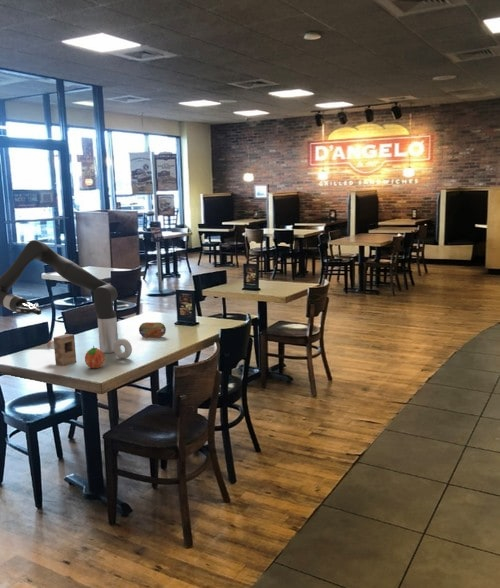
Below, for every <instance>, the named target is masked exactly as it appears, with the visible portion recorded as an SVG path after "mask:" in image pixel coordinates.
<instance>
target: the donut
mask: <svg viewBox="0 0 500 588" xmlns="http://www.w3.org/2000/svg"><path fill="white" fill-rule="evenodd" d="M121 346H122V347H123V348H124V351H123V350H122V348H121ZM113 349H114V352H113V353H114V354H115V356H116V357H118V358H119V359H122V360H125V359H126V360H127V358H129V357H131V355H132V353H133V347H132V344H131V342H130V341H129V340H127V339H126V338H122V337H120V338H118V340H116V341H115V343H114V345H113Z"/></svg>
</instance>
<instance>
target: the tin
mask: <svg viewBox="0 0 500 588" xmlns="http://www.w3.org/2000/svg"><path fill="white" fill-rule="evenodd" d="M138 331H139V335H141V337H143V338H147V339H150V338H151V339H159V338H162V337H163V336H165V334H166V332H167V329H166V326H165V324H164V323H162V322H159V321H158V322H154V321H153V322H148V321H147V322H143V323H141V324H140V325H139V328H138Z"/></svg>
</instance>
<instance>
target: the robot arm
mask: <svg viewBox="0 0 500 588" xmlns="http://www.w3.org/2000/svg"><path fill="white" fill-rule="evenodd" d="M34 260H37V261H40V262H42V263H43V264H45V265H48V266H49V267H51V268H52V269H53V270H54V271H55V272H56V273H57V274H58V275H59V276H60V277H62V278H63V279H64V280H66V281H68V282H70V283H71V284H73V285H76V286H78V287H80V288H85V289H87V290H90V291H91V292H93V304H94V309H95V310H94V311H95V312H94V313H95V314H96V315H97V317H96V318H97V328H98V342H99V344H98V345H99V349H100V350H101V351H102V352H103V354H111V353H115V352H114V349H113V345H114V343H115V341H116V340H118V339H119V332H118V321H117V320H118V319H117V311H116V310H114V308H113V302H114V301H116V300H117V298H118V291H117V289H116V288H115V287H114V286H113V285H112V284H109V282H108V283H107V282H106V281H103V280H102V279H99V278H98V277H96V276H95V275H93V274H92V273H90V272H89V271H87V270H86V269H84V268H83V267H81V266H80V265H78V264H77V263H75V262H74V261H72V260H70V259H69V258H66V257H64V256H61V254H58V253H57V252H56V251H54V249H52V248H51V247H50V246H49V245H47V244H46V243H45V242H42V241H40V240H37V239H33V240H30V241H29V242H28V243H27V244H26V245H25V246H24V248H23V249H22V251H21V253H20V254H19V255H18V256H17V257H16V259H15V261H14V262H13V263H11V265H10V267H8V269H7V270H6V271H5V272H3V273H2V275H1V276H0V306H1V307H2V308H3V307H4V308H7V309H8V310H10V311H13V312H15V313H16V314H17V313H18V314H27V315H30V314H35V315H38V316H40V315H42V309H40V308H39V303H38V302H35V303H34V304H33V303H31V302H28V300H27V299H26V298H24V297H21V296H19V295H16V294H13V293H9V290H10V289H11V288H12V287H13V285H14V284H15V283H17V281H18V280H19V279H20V278H21V276H22V274H23V272H24V270H25V268H26V267H27V266H28V265H29V264H30V263H31V262H32V261H34Z"/></svg>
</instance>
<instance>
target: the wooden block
mask: <svg viewBox="0 0 500 588" xmlns="http://www.w3.org/2000/svg"><path fill="white" fill-rule="evenodd" d="M52 339H53V341H54V349H53V350H54V359H55V360H54V361H55V365H56V366H61V367H64V366H67V365H70V364H74V363H77V353H76V352H77V351H76V342H75V339H76V338H75V334H72V333H71V334H69V333H65V334H62V335H58V336H54V337H52ZM64 343H67V349H66V350H65V347H64Z"/></svg>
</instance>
